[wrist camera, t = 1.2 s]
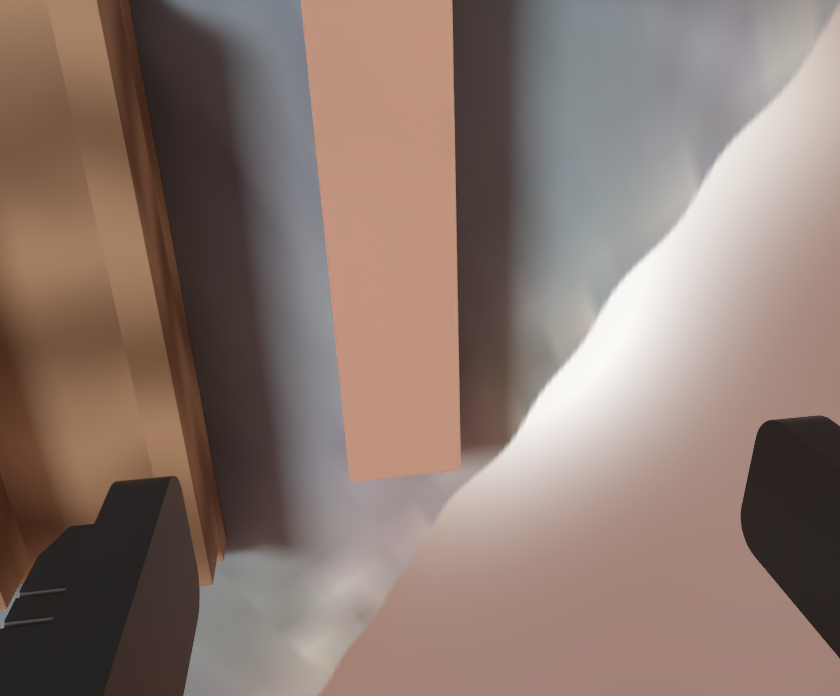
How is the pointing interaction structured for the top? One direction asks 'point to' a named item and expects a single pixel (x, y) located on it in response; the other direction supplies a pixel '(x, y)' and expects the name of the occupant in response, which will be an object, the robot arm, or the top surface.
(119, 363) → the rack
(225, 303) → the top surface
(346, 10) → the clay strip
